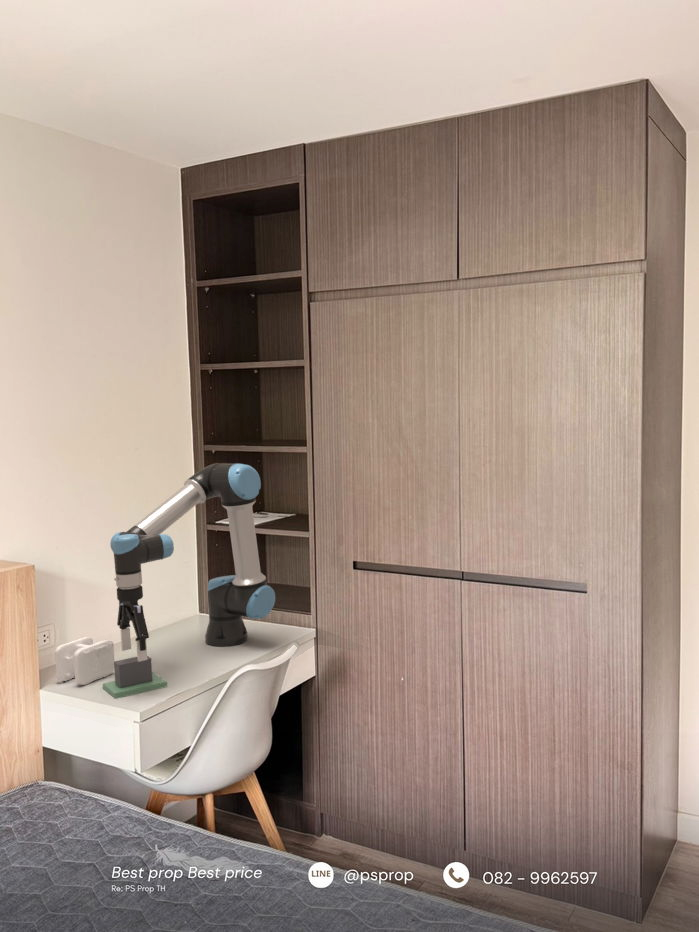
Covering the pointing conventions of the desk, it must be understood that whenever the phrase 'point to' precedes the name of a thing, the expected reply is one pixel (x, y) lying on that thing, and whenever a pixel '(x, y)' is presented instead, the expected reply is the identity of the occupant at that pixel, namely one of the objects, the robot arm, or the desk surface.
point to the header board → (134, 687)
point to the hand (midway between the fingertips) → (134, 655)
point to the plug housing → (132, 672)
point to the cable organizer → (84, 660)
